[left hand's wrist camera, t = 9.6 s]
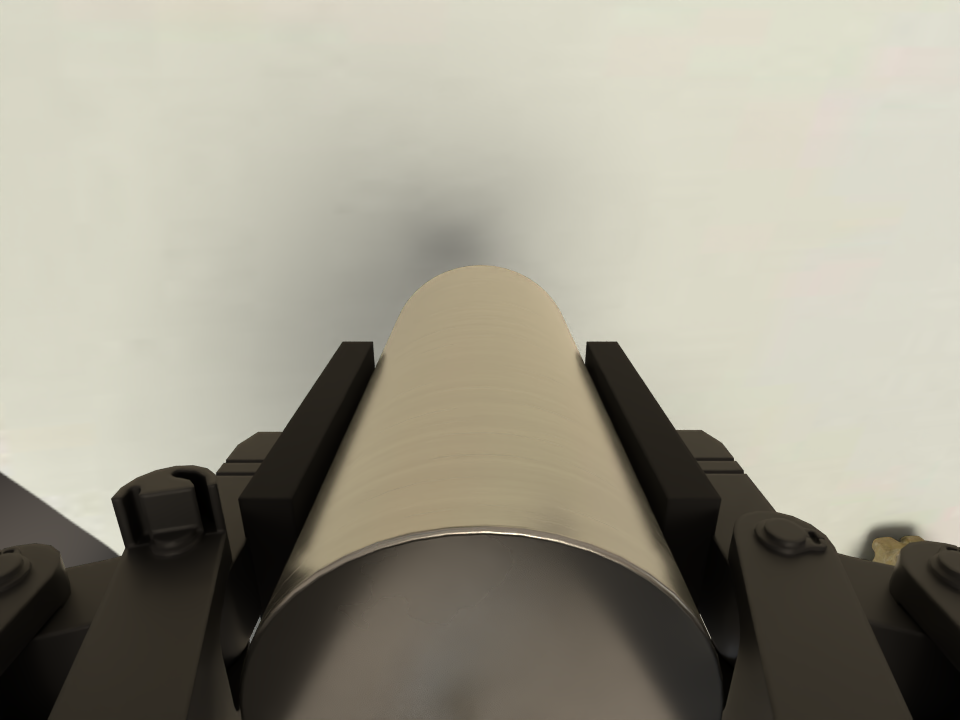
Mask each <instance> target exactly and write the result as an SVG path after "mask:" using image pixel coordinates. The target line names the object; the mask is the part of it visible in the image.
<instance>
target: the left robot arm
mask: <svg viewBox="0 0 960 720" xmlns="http://www.w3.org/2000/svg"><path fill="white" fill-rule="evenodd" d="M585 366H586V368H587V370H588V373H589V375H590V377H591V379H592V381H593V383H594V386H595V388H596V390H597V392H598V394H599V397H600V399H601V401H602V403H603V405H604V407H605V410H606V412H607V414H608V416H609V418H610V420H611V423H612V425H613V427H614V429H615V431H616V434H617V436H618V438H619V440H620V442H621V444H622V447H623V449H624V451H625V453H626V455H627V457H628V460H629V462H630V464H631V466H632V468H633V471H634V473H635V475H636V477H637V479H638V481H639V484H640V486H641V488H642V490H643V492H644V494H645V497H646V499H647V501H648V503H649V505H650V508H651V510H652V512H653V514H654V516H655V518H656V521H657V523H658V525H659V527H660V529H661V532H662V534H663V536H664V538H665V540H666V542H667V545H668V547H669V549H670V551H671V553H672V555H673V558H674V560H675V562H676V564H677V566H678V569H679V571H680V573H681V575H682V577H683V579H684V582H685V584H686V586H687V588H688V590H689V592H690V595H691V597H692V599H693V601H694V603H695V606H696V608H697V610H698V612H699V614H700V615H701V617H702V619H703V621H704V623H705V626H706V628H707V630H708V632H709V634H710V636H711V641H712V643H713V645H714V647H715V650H716V652H717V654H718V658H719V662H720V667H721V671H722V675H723V689H724V707H723V714H722V720H960V547H957V546H955V545H951V544H946V543H939V542H932V541H919V542H911V543H908V544H907V545H906V546H904V547H903V548H902V549H901V550H900V553H899V556H898V559H897V562H896V564H895V566H893V565H889V564H884V563H879V562H874V561H869V560H864V559H860V558H855V557H850V556H846V555H843V554H839V553H837V551H836V549H835V547H834V546H833V544H832V543H831V542H830V540H829V539H828V538H827V536H826V535H825V534H823V533H822V532H821V531H819V530H818V529H816V528H815V527H814V526H812V525H811V524H809V523H807V522H805V521H802V520H800V519H798V518H796V517H794V516H790V515H786V514H782V513H778V512H776V511H775V510H774V508H773V507H772V506H771V505H770V503H769V502H768V501H767V499H766V498H765V497H764V496H763V494H762V493H761V492H760V491H759V489H758V488H757V487H756V486H755V484H754V483H753V482H752V480H751V479H750V478H749V477H748V475H747V474H744V470H743V469H742V468H741V467H740V465H739V464H738V463H737V461H734V458H733V456H732V455H731V454H730V453H729V451H728V450H727V449H726V447H725V446H724V445H723V444H722V443H721V442H720V441H718V440H716V439H715V438H713V437H712V436H710V435H709V434H707V433H705V432H704V431H702V430H676V429H675V428H674V426H673V425H672V423H671V422H670V420H669V419H668V417H667V416H666V414H665V413H664V411H663V410H662V408H661V407H660V405H659V404H658V402H657V401H656V399H655V398H654V396H653V395H652V393H651V392H650V390H649V389H648V387H647V386H646V384H645V383H644V381H643V380H642V378H641V377H640V375H639V374H638V372H637V371H636V369H635V368H634V366H633V365H632V363H631V362H630V360H629V359H628V357H627V356H626V354H625V353H624V352H623V350H622V349H621V347H620V346H619V344H618V343H617V342H587V345H586V358H585ZM374 370H375V363H374V350H373V342H342V343H341V345H340V346H339V348H338V349H337V351H336V352H335V354H334V355H333V357H332V358H331V360H330V361H329V363H328V364H327V366H326V367H325V369H324V370H323V372H322V373H321V375H320V376H319V378H318V379H317V381H316V382H315V384H314V385H313V387H312V388H311V390H310V391H309V393H308V394H307V396H306V397H305V399H304V400H303V402H302V403H301V405H300V406H299V408H298V409H297V411H296V412H295V414H294V415H293V417H292V418H291V420H290V421H289V423H288V424H287V426H286V427H285V429H284V430H283V432H257V433H256V434H254V435H253V436H251V437H250V438H248V439H246V440H245V441H243V442H242V443H240V444H239V445H238V446H237V447H236V448H235V449H234V451H233V452H232V453H231V454H230V456H229V457H228V458H227V460H226V463H223V465H222V466H221V467H220V468H219V470H218V471H217V472H216V475H215V474H214V473H213V472H211V471H210V470H209V469H208V468H204V467H199V466H194V465H188V466H173V467H169V468H164V469H160V470H155V471H153V472H150V473H148V474H145V475H143V476H140V477H138V478H136V479H134V480H133V481H131V482H129V483H128V484H126V485H125V486H123V487H121V488H120V489H119V491H118V492H117V493H116V494H115V495H114V496H113V497H112V498H111V500H112V504H113V507H114V511H115V514H116V517H117V521H118V524H119V528H120V531H121V535H122V538H123V542H124V545H125V550H124V552H123V554H122V556H119V557H115V558H112V559H107V560H103V561H98V562H93V563H88V564H83V565H79V566H74V567H69V568H65V566H64V563H63V560H62V557H61V555H60V552H59V551H58V550H57V549H55V548H54V547H52V546H51V545H45V544H37V543H33V544H26V545H18V546H13V547H9V548H4V549H3V550H0V720H241V711H240V703H239V693H240V678H241V672H242V668H243V664H244V660H245V656H246V653H247V650H248V648H249V646H250V641H249V639H250V636H251V634H252V632H253V630H254V628H255V626H256V623H257V621H258V619H259V617H261V619H262V617H263V615H264V612H265V610H266V608H267V606H268V604H269V601H270V599H271V597H272V595H273V593H274V590H275V588H276V586H277V584H278V582H279V579H280V577H281V575H282V573H283V571H284V568H285V566H286V564H287V562H288V560H289V557H290V555H291V553H292V551H293V548H294V546H295V544H296V542H297V540H298V537H299V535H300V533H301V531H302V529H303V526H304V524H305V522H306V520H307V518H308V515H309V513H310V511H311V509H312V507H313V504H314V502H315V500H316V498H317V496H318V493H319V491H320V489H321V487H322V485H323V482H324V480H325V478H326V476H327V473H328V471H329V469H330V467H331V465H332V462H333V460H334V458H335V456H336V454H337V451H338V449H339V447H340V445H341V443H342V440H343V438H344V436H345V434H346V432H347V429H348V427H349V425H350V423H351V421H352V418H353V416H354V414H355V412H356V409H357V407H358V405H359V403H360V401H361V398H362V396H363V394H364V392H365V390H366V387H367V385H368V383H369V381H370V379H371V376H372V374H373V372H374Z"/></svg>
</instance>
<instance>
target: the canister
mask: <svg viewBox="0 0 960 720" xmlns="http://www.w3.org/2000/svg"><path fill="white" fill-rule="evenodd" d="M239 703H240V711H241V720H722V714H723V707H724V689H723V675H722V671H721V667H720V662H719V658H718V654H717V652H716V650H715V647H714V645H713V643H712V641H711V638H710V636H709V634H708V632H707V629H706V627H705V625H704V623H703V621H702V619H701V616H700V614H699V612H698V610H697V608H696V606H695V603H694V601H693V599H692V597H691V595H690V592H689V590H688V588H687V586H686V584H685V582H684V579H683V577H682V575H681V573H680V571H679V569H678V566H677V564H676V562H675V560H674V558H673V555H672V553H671V551H670V549H669V547H668V545H667V542H666V540H665V538H664V536H663V534H662V532H661V529H660V527H659V525H658V523H657V521H656V518H655V516H654V514H653V512H652V510H651V508H650V505H649V503H648V501H647V499H646V497H645V494H644V492H643V490H642V488H641V486H640V484H639V481H638V479H637V477H636V475H635V473H634V471H633V468H632V466H631V464H630V462H629V460H628V457H627V455H626V453H625V451H624V449H623V447H622V444H621V442H620V440H619V438H618V436H617V434H616V431H615V429H614V427H613V425H612V423H611V420H610V418H609V416H608V414H607V412H606V410H605V407H604V405H603V403H602V401H601V399H600V397H599V394H598V392H597V390H596V388H595V386H594V383H593V381H592V379H591V377H590V375H589V373H588V370H587V368H586V366H585V364H584V362H583V359H582V357H581V355H580V353H579V351H578V349H577V346H576V344H575V342H574V340H573V338H572V336H571V333H570V331H569V329H568V327H567V325H566V322H565V320H564V318H563V316H562V314H561V312H560V310H559V308H558V307H557V305H556V304H555V302H554V301H553V299H552V298H551V297H550V296H549V295H548V293H547V292H546V291H544V290H543V289H542V288H541V287H540V286H539V285H538V284H536V283H535V282H533V281H532V280H530V279H529V278H527V277H525V276H523V275H521V274H519V273H517V272H514V271H512V270H509V269H506V268H501V267H496V266H487V265H475V266H466V267H460V268H456V269H453V270H450V271H447V272H444V273H442V274H440V275H438V276H436V277H434V278H433V279H431V280H430V281H428V282H427V283H425V284H424V285H423V286H421V287H420V288H419V289H418V290H417V291H416V292H415V293H414V294H413V295H412V296H411V298H410V299H409V300H408V301H407V303H406V304H405V306H404V307H403V309H402V311H401V313H400V315H399V317H398V319H397V321H396V323H395V326H394V328H393V330H392V332H391V334H390V337H389V339H388V341H387V343H386V345H385V348H384V350H383V352H382V354H381V357H380V359H379V361H378V363H377V365H376V368H375V370H374V372H373V374H372V376H371V379H370V381H369V383H368V385H367V387H366V390H365V392H364V394H363V396H362V398H361V401H360V403H359V405H358V407H357V409H356V412H355V414H354V416H353V418H352V421H351V423H350V425H349V427H348V429H347V432H346V434H345V436H344V438H343V440H342V443H341V445H340V447H339V449H338V451H337V454H336V456H335V458H334V460H333V462H332V465H331V467H330V469H329V471H328V473H327V476H326V478H325V480H324V482H323V485H322V487H321V489H320V491H319V493H318V496H317V498H316V500H315V502H314V504H313V507H312V509H311V511H310V513H309V515H308V518H307V520H306V522H305V524H304V526H303V529H302V531H301V533H300V535H299V537H298V540H297V542H296V544H295V546H294V548H293V551H292V553H291V555H290V557H289V560H288V562H287V564H286V566H285V568H284V571H283V573H282V575H281V577H280V579H279V582H278V584H277V586H276V588H275V590H274V593H273V595H272V597H271V599H270V601H269V604H268V606H267V608H266V610H265V612H264V615H263V617H262V619H261V621H260V624H259V626H258V628H257V630H256V632H255V635H254V637H253V639H252V641H251V643H250V646H249V648H248V650H247V653H246V656H245V660H244V664H243V668H242V672H241V678H240V693H239Z"/></svg>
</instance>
